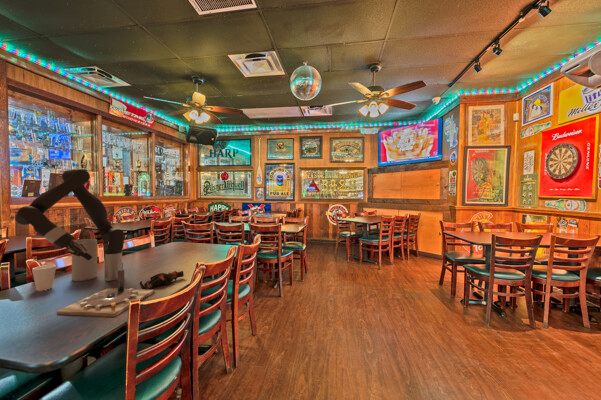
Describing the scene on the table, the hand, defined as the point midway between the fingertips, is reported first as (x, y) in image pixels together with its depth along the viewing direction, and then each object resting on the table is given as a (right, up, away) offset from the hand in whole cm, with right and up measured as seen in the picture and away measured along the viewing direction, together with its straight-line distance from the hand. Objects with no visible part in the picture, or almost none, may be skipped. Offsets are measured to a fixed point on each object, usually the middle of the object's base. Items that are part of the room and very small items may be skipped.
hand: (90, 258), depth 129 cm
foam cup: (-38, -21, +13) cm, 46 cm away
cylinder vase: (-31, -21, +31) cm, 49 cm away
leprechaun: (+24, -22, +24) cm, 41 cm away
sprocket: (+13, -20, -3) cm, 24 cm away
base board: (+13, -22, -3) cm, 26 cm away
